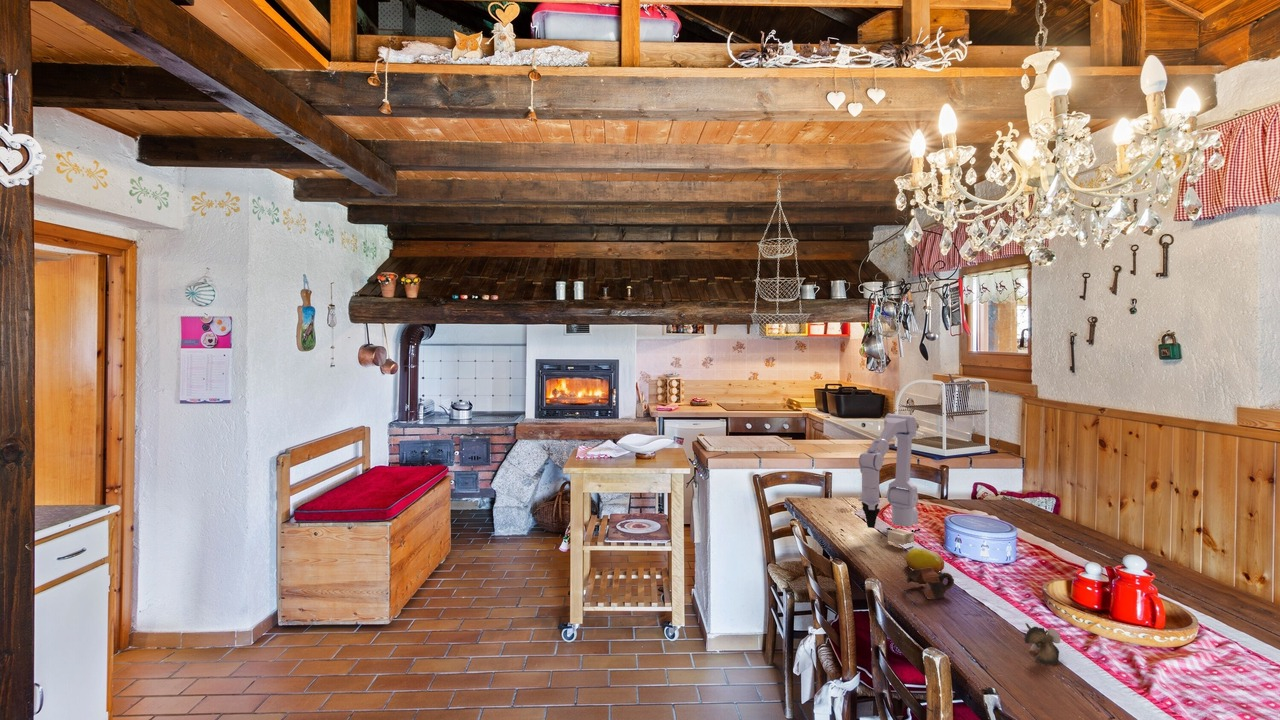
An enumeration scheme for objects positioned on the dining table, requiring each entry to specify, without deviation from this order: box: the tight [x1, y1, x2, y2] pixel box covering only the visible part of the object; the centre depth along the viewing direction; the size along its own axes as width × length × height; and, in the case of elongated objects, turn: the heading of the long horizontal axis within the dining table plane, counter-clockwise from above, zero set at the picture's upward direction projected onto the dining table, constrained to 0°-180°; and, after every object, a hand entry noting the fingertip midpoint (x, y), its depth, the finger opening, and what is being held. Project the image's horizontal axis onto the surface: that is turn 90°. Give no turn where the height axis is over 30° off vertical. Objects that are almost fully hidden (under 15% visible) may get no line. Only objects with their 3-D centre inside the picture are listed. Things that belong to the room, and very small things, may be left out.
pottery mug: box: [905, 567, 955, 600], centre depth 162 cm, size 12×10×8 cm
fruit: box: [905, 547, 945, 573], centre depth 179 cm, size 11×10×8 cm
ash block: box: [887, 528, 915, 545], centre depth 202 cm, size 6×6×5 cm
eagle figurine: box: [1023, 622, 1061, 666], centre depth 128 cm, size 8×7×9 cm
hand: (870, 525), depth 204 cm, fingers open, 5 cm apart
